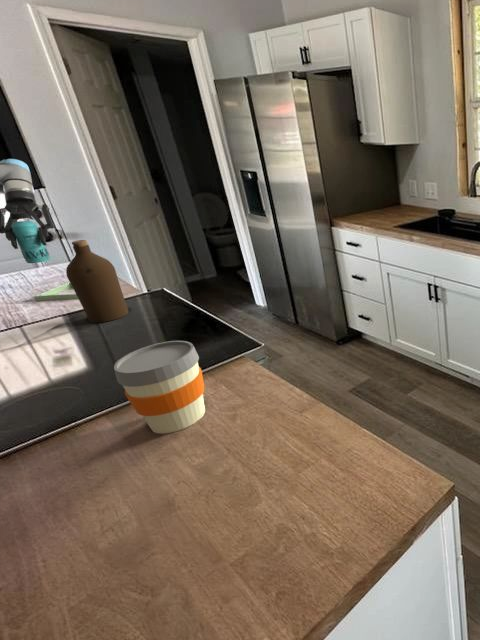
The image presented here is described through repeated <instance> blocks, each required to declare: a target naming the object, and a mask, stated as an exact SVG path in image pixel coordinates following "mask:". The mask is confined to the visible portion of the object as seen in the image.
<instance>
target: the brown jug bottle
mask: <svg viewBox="0 0 480 640" xmlns="http://www.w3.org/2000/svg"><path fill="white" fill-rule="evenodd" d="M71 245H72V248H73V250H74V253H75V255H74V256H73V258H72V259H71V261H70V262H69V264H67V266H66V278H67V280H68V282H70V283H71V285H72V287H73V289H74V290H73V291H74V292H75V293H76V295H77V297H78V301H79V303H80V305H81V307H82V309H83V312H84V314H85V315H86V317H87V319H88V322H90V323H93V324H101V323H107V322H112V321H115V320H118V319H121V318H124V317H125V316H127V315H129V309H128V306H127V303H126V300H125V297H124V294H123V290H122V287H121V285H120V281H119V278H118V275H117V271H116V268H115V266H114V265H113V264H112V262H111V261H110V260H108V259H106V258H105V257H103V256H100V255H99V254H96V253H94V252H93V251H91V247H90V244H88V240H86V239H79V240H73V241H72V242H71ZM75 293H74V294H75Z"/></svg>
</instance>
